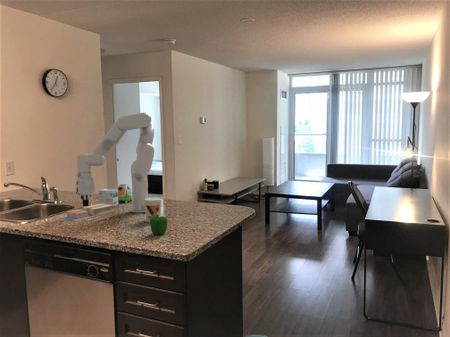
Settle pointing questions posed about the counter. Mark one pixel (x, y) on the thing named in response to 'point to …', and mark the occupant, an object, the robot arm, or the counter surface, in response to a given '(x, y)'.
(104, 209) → the deck
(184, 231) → the counter surface
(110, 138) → the robot arm
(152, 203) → the coffee cup
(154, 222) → the bell pepper
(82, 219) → the mat
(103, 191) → the light bulb box
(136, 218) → the counter surface
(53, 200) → the counter surface
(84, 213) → the tile
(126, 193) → the turtle holder
